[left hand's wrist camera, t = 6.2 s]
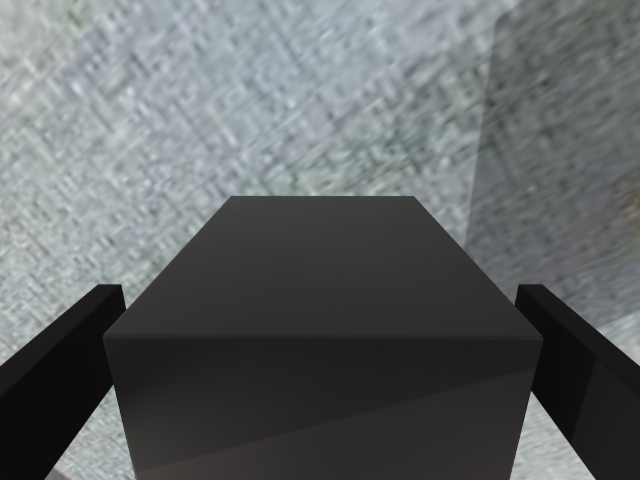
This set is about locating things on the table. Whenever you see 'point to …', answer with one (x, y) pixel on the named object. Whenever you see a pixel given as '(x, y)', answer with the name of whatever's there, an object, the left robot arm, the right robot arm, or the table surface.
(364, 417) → the box
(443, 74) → the table surface
